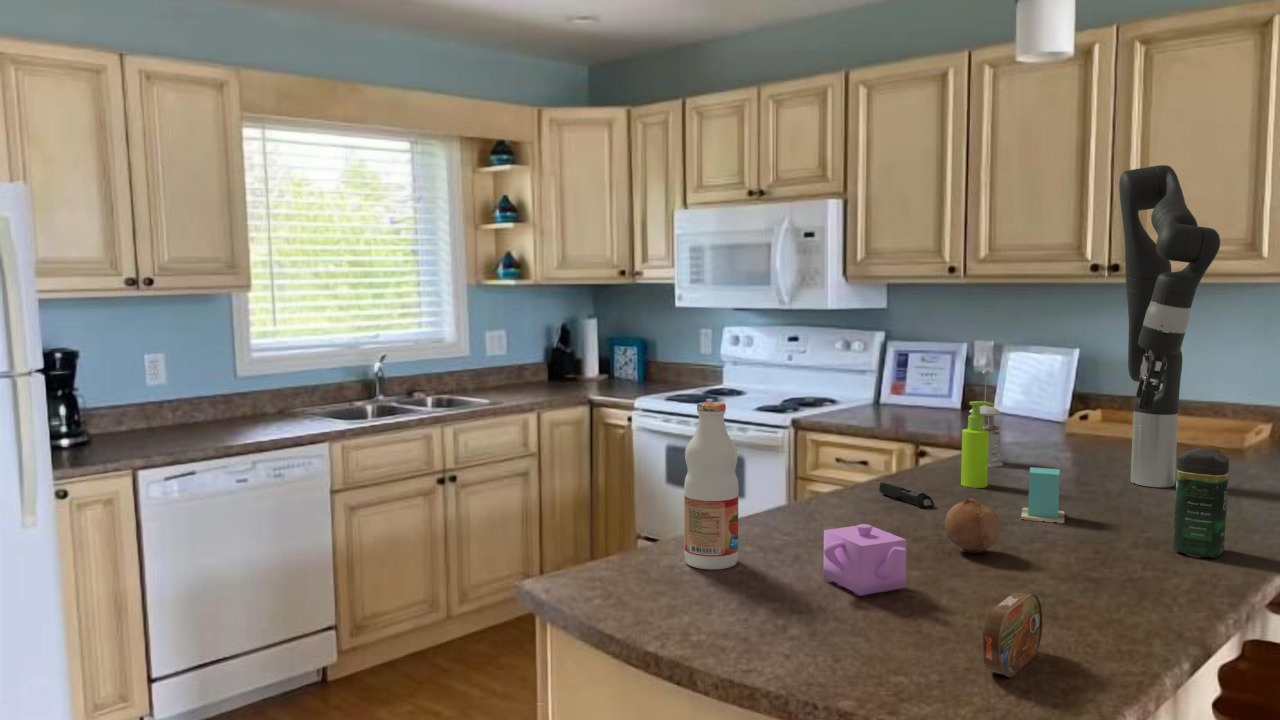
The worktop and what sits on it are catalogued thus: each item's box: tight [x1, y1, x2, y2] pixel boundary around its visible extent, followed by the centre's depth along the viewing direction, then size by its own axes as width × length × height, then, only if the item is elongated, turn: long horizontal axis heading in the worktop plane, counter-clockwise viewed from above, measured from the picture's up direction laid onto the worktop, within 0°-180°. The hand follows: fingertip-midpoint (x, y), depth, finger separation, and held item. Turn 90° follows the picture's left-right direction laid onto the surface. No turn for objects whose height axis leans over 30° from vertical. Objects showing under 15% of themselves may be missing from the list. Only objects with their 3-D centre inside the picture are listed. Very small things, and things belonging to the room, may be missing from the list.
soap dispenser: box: [960, 400, 995, 489], centre depth 219 cm, size 6×7×20 cm
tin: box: [981, 591, 1043, 678], centre depth 119 cm, size 15×3×8 cm, turn 138°
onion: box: [944, 497, 1002, 554], centre depth 166 cm, size 10×9×10 cm
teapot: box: [822, 523, 908, 597], centre depth 147 cm, size 18×14×10 cm
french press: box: [968, 368, 1004, 468], centre depth 245 cm, size 10×12×25 cm
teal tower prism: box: [1027, 466, 1061, 519], centre depth 190 cm, size 6×6×9 cm
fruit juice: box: [683, 401, 739, 571], centre depth 160 cm, size 9×9×28 cm
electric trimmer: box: [878, 482, 935, 510], centre depth 205 cm, size 4×16×3 cm, turn 24°
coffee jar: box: [1172, 447, 1230, 558], centre depth 165 cm, size 10×8×19 cm
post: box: [1020, 507, 1065, 524], centre depth 190 cm, size 8×8×8 cm
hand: (1142, 403), depth 187 cm, fingers open, 8 cm apart
